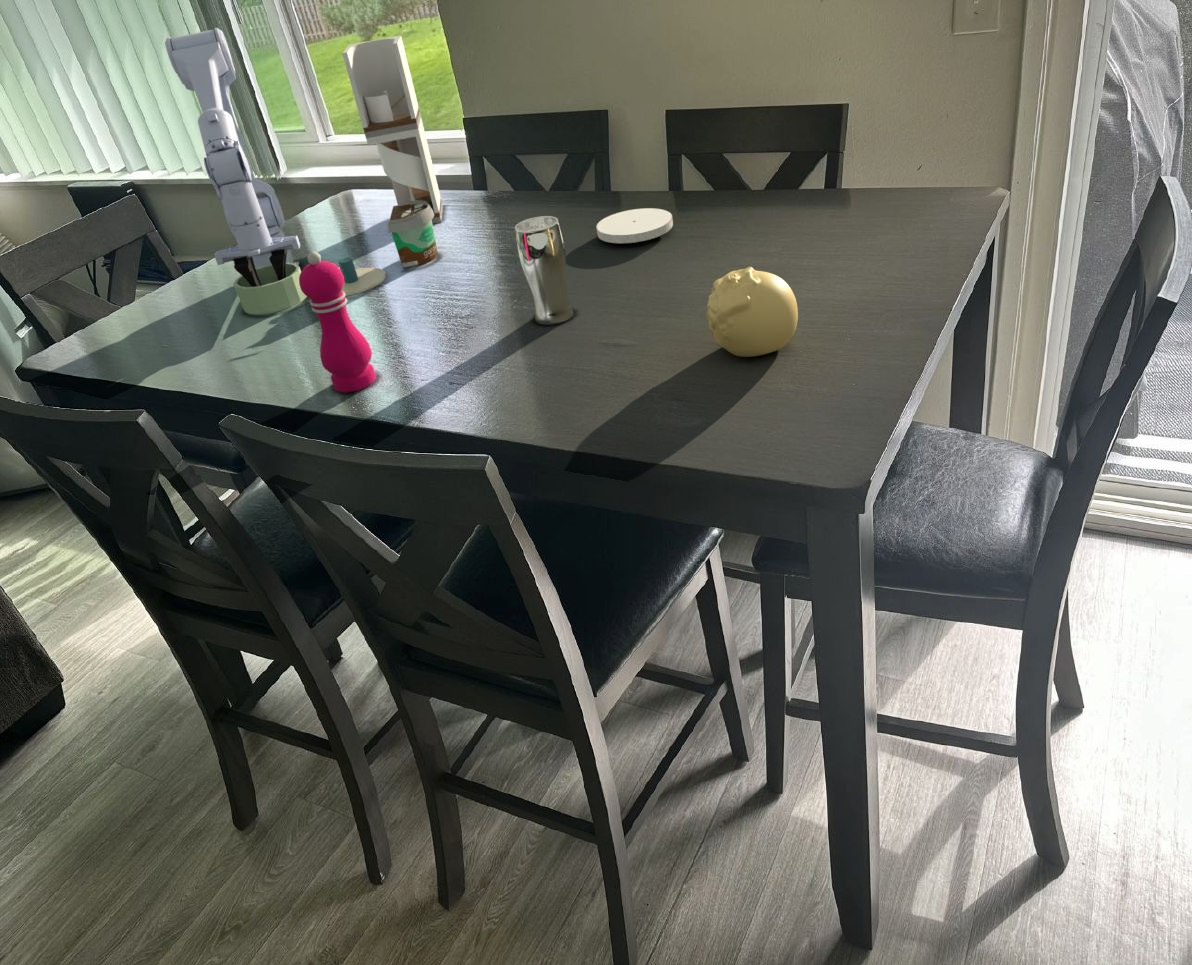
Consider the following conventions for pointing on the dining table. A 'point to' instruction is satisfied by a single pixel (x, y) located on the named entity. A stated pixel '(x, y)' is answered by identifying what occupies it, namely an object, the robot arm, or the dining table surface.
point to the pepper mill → (336, 327)
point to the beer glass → (544, 267)
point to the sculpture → (752, 312)
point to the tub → (270, 290)
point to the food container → (414, 234)
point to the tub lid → (359, 277)
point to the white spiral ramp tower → (393, 120)
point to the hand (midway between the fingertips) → (273, 293)
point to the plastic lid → (634, 225)
